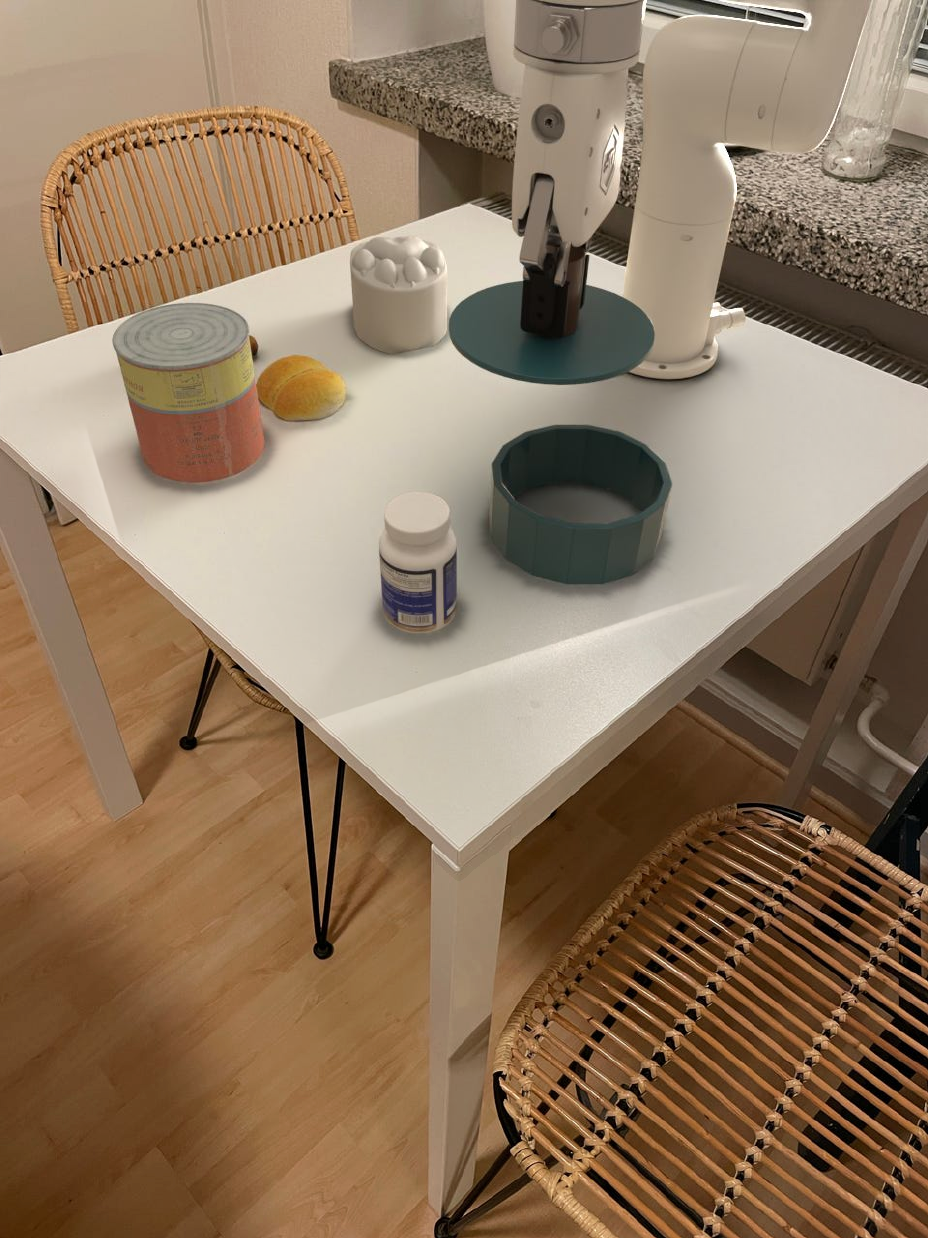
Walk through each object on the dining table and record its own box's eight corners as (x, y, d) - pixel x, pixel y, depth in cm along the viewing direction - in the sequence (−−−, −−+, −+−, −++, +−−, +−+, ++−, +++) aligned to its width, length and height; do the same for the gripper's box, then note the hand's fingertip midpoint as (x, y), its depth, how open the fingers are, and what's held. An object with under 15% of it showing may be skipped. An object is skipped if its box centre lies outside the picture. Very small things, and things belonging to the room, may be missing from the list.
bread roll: (295, 435, 91) (291, 399, 88) (246, 397, 96) (240, 361, 93) (365, 406, 95) (363, 370, 92) (314, 370, 100) (310, 335, 97)
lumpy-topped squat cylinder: (439, 298, 113) (439, 224, 107) (453, 352, 103) (454, 275, 97) (351, 302, 111) (346, 227, 105) (357, 357, 102) (352, 279, 96)
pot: (603, 468, 88) (612, 410, 84) (691, 561, 79) (706, 501, 75) (462, 505, 84) (463, 445, 80) (538, 608, 75) (544, 547, 70)
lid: (590, 280, 77) (599, 196, 73) (692, 368, 67) (711, 278, 63) (418, 312, 73) (416, 225, 68) (501, 411, 63) (506, 317, 58)
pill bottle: (426, 578, 77) (425, 476, 70) (471, 616, 74) (474, 514, 67) (367, 608, 74) (360, 506, 67) (412, 649, 71) (409, 547, 64)
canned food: (187, 409, 94) (163, 293, 86) (288, 434, 91) (273, 316, 83) (117, 470, 87) (83, 349, 78) (225, 499, 84) (202, 377, 75)
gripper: (601, 73, 50) (568, 385, 63) (671, 5, 61) (631, 281, 74) (467, 56, 52) (461, 362, 64) (559, -7, 63) (539, 264, 76)
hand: (552, 316), depth 69 cm, fingers closed on lid, 3 cm apart
